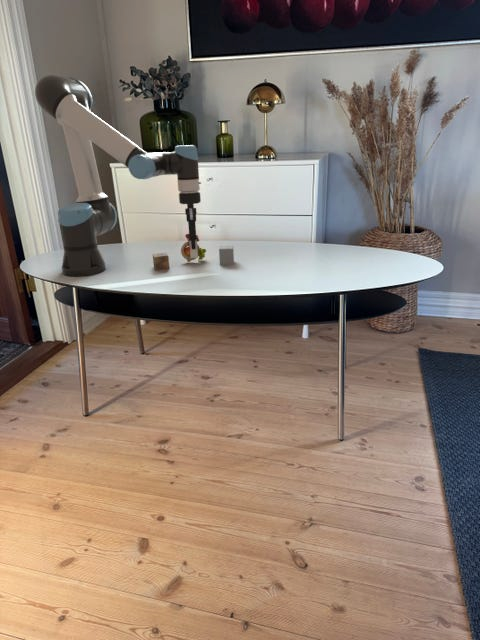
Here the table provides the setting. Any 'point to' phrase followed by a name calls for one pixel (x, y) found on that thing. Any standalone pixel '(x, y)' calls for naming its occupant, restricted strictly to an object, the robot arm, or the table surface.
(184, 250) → the bird rattle
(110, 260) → the table surface
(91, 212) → the robot arm
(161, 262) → the walnut block
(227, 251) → the grey block
